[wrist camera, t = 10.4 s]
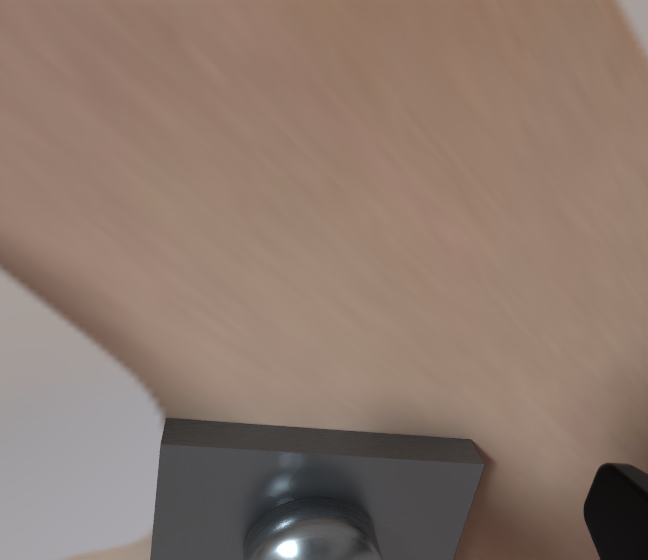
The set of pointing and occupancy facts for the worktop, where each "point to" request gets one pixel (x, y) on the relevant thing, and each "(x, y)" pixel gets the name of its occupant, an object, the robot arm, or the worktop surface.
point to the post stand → (309, 493)
